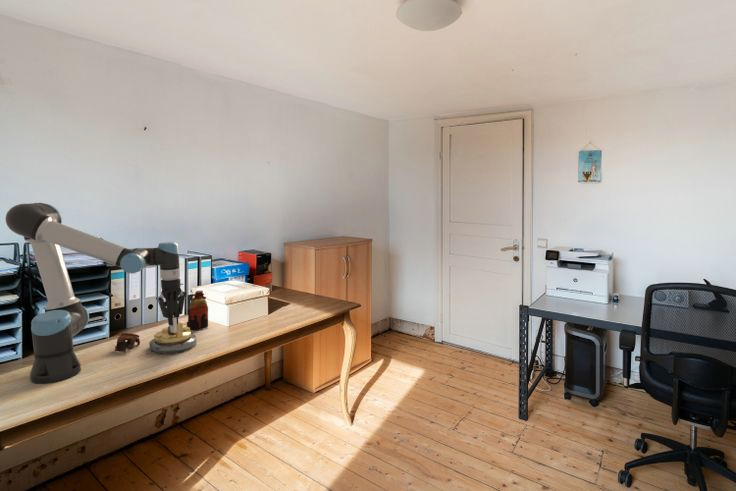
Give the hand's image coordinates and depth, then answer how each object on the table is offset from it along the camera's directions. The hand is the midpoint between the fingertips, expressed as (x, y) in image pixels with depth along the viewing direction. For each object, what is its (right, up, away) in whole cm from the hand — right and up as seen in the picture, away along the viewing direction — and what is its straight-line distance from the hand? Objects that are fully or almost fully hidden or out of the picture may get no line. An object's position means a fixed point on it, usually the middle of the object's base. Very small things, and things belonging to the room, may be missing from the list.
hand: (173, 331), depth 176 cm
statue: (-4, -5, +32) cm, 32 cm away
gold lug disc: (-3, -5, +6) cm, 8 cm away
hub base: (-3, -8, +7) cm, 11 cm away
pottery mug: (-22, -9, +3) cm, 23 cm away
